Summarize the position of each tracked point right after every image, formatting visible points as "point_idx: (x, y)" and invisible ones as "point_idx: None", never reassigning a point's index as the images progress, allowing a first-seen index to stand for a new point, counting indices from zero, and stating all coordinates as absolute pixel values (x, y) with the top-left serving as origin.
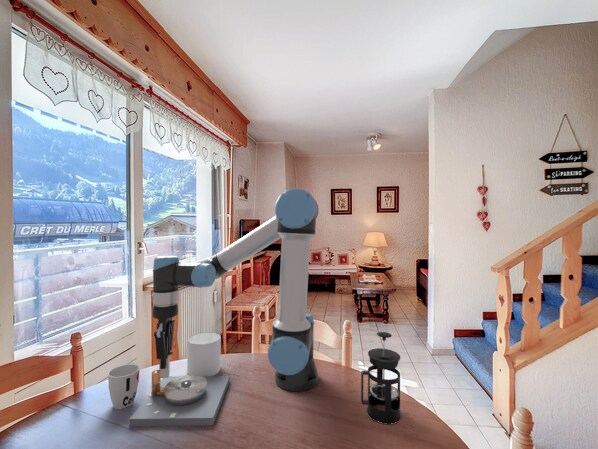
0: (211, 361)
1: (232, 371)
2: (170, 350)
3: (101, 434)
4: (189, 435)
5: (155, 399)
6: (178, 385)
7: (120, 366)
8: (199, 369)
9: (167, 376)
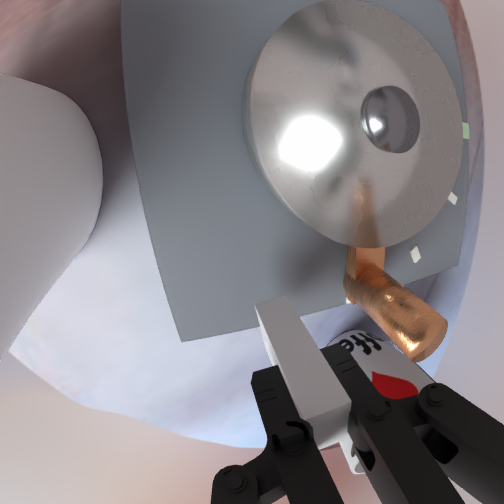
0: (22, 83)
1: (23, 29)
2: (240, 468)
3: (448, 298)
4: (464, 68)
5: (386, 253)
6: (397, 166)
7: (361, 471)
8: (80, 158)
9: (288, 302)
